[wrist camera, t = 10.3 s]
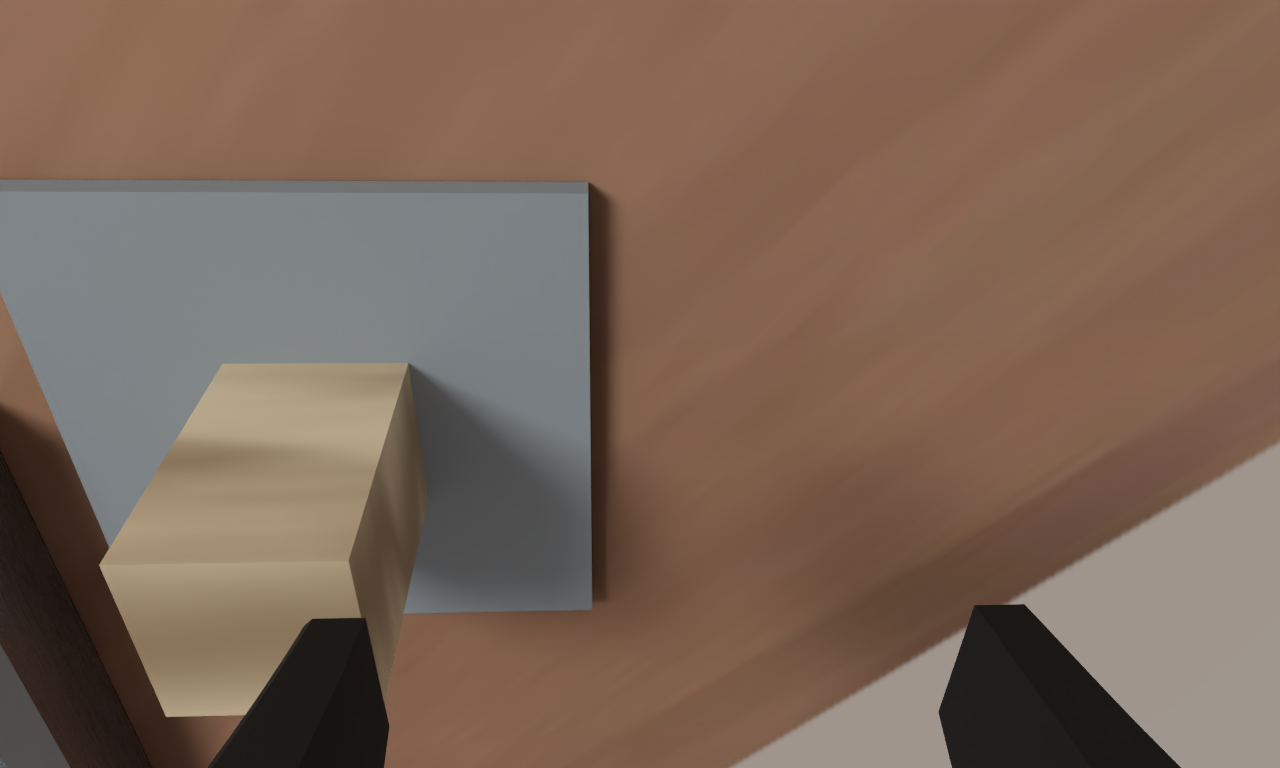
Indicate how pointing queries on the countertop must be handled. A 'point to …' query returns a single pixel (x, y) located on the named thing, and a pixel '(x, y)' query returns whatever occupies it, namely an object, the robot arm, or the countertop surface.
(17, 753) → the tray
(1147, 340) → the countertop surface
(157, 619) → the peg
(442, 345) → the mat
